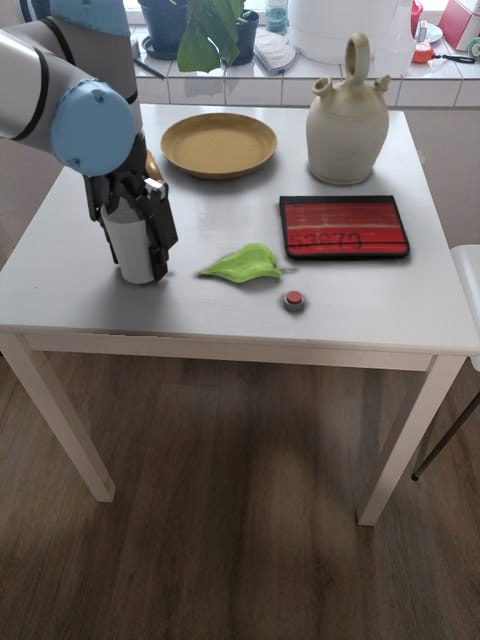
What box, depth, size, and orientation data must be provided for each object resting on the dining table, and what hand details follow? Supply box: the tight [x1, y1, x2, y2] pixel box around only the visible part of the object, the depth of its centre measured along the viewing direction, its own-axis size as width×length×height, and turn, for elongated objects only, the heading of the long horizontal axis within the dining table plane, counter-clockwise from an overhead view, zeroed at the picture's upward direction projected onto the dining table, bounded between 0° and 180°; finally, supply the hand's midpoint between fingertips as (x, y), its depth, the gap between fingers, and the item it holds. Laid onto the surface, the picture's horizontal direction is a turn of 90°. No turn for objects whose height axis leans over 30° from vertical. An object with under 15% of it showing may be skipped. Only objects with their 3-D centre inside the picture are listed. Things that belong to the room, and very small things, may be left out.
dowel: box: [146, 148, 165, 184], centre depth 97 cm, size 14×2×2 cm, turn 20°
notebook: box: [278, 194, 411, 262], centre depth 85 cm, size 16×2×21 cm
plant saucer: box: [160, 112, 278, 180], centre depth 102 cm, size 24×24×3 cm
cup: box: [101, 196, 155, 285], centre depth 74 cm, size 8×8×12 cm
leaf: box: [197, 242, 295, 284], centre depth 79 cm, size 9×16×2 cm, turn 92°
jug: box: [305, 32, 392, 186], centre depth 90 cm, size 15×16×25 cm
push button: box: [283, 290, 305, 311], centre depth 74 cm, size 3×3×2 cm
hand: (140, 267), depth 78 cm, fingers closed on cup, 7 cm apart
